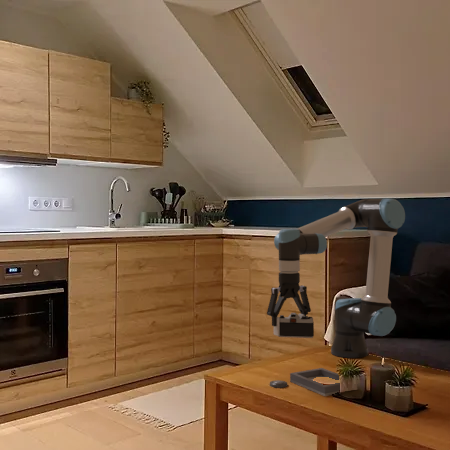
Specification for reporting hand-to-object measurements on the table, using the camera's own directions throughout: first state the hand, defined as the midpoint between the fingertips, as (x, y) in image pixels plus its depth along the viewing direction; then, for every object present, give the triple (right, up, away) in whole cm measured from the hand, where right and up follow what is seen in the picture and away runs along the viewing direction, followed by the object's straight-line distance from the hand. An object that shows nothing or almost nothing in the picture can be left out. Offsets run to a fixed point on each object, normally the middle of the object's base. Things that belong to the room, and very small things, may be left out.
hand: (289, 333), depth 219 cm
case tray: (+11, -16, -10) cm, 22 cm away
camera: (+2, -1, -1) cm, 3 cm away
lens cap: (-5, -16, -10) cm, 20 cm away
